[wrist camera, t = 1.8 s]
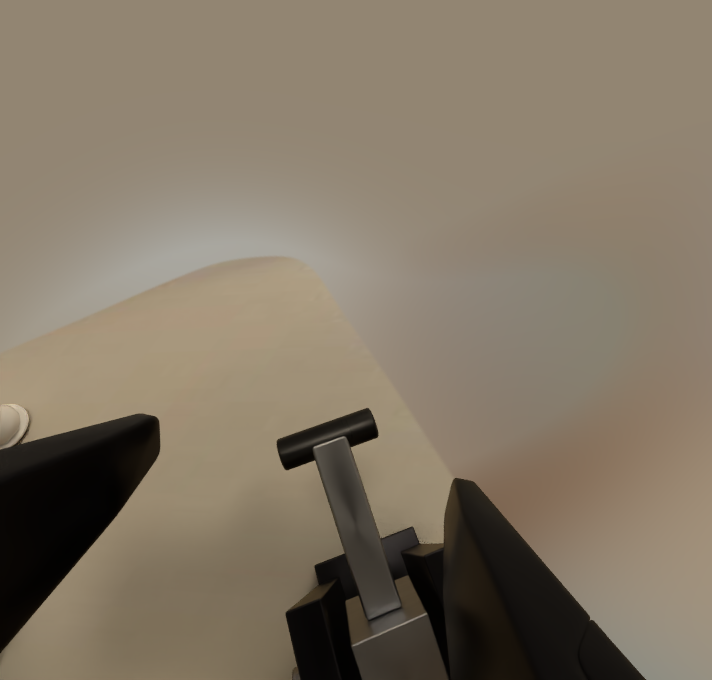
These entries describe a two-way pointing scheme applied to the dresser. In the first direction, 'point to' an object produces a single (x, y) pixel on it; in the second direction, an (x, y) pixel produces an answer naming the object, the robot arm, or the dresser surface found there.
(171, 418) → the dresser surface
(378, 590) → the lever
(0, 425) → the chess pawn
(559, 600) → the robot arm
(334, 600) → the bracket
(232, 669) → the dresser surface
